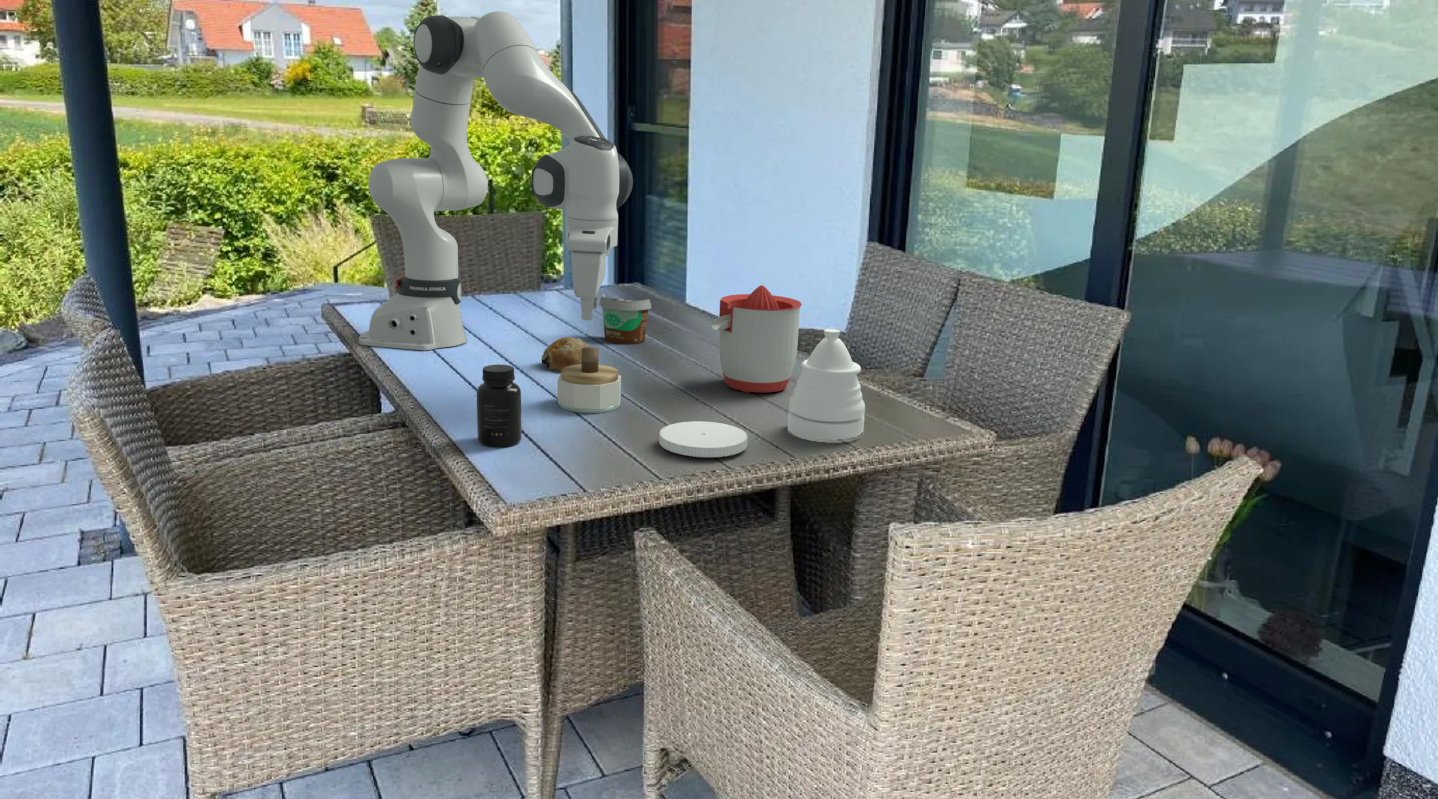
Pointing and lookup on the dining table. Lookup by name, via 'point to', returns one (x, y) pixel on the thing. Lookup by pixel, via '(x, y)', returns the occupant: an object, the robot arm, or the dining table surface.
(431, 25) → the robot arm
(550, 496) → the dining table surface
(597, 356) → the wooden lid
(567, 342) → the bread roll
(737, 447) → the plastic lid
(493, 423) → the supplement bottle
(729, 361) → the citrus juicer
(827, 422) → the honey pot
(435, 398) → the dining table surface
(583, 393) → the octagonal jar
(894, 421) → the dining table surface
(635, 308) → the food container
